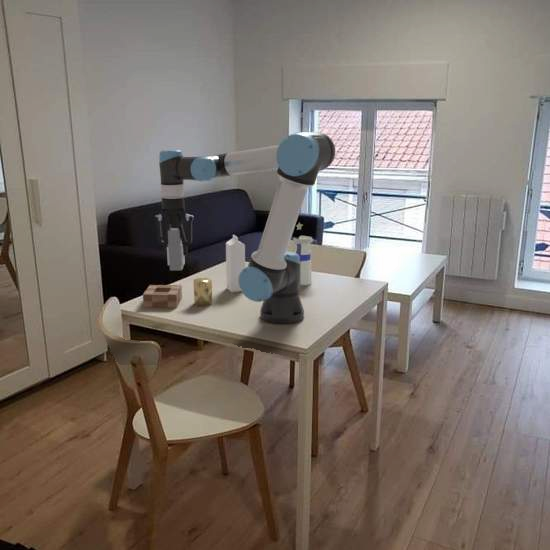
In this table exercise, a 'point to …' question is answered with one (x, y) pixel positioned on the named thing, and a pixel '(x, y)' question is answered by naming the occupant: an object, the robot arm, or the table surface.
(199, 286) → the round bit
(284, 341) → the table surface
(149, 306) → the socket block
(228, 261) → the milk
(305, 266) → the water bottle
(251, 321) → the table surface
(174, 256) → the square bit
